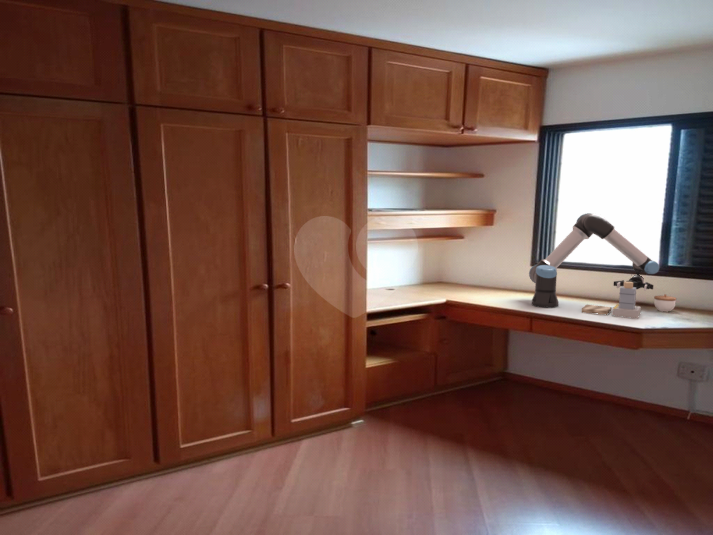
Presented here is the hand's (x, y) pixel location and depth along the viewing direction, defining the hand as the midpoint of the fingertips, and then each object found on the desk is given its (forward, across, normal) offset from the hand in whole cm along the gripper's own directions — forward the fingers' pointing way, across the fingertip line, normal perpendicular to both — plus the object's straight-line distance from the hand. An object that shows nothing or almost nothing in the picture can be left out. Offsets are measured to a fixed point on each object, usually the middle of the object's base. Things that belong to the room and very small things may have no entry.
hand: (631, 287), depth 286 cm
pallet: (+12, +15, -14) cm, 24 cm away
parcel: (+11, 0, +1) cm, 11 cm away
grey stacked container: (+11, 0, -10) cm, 15 cm away
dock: (+11, 0, -14) cm, 18 cm away
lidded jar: (-13, -16, -14) cm, 25 cm away
